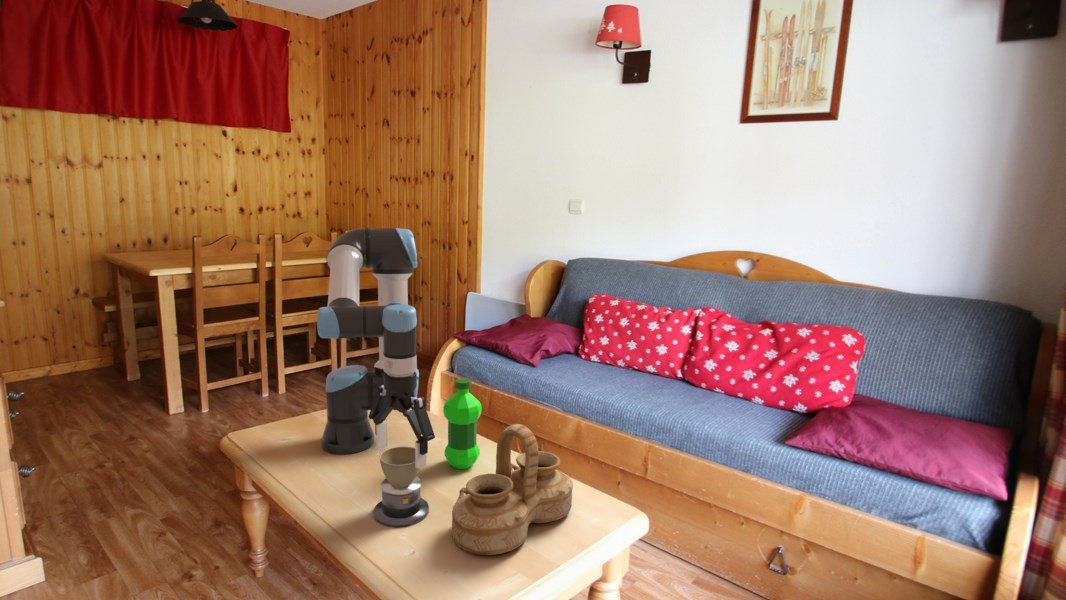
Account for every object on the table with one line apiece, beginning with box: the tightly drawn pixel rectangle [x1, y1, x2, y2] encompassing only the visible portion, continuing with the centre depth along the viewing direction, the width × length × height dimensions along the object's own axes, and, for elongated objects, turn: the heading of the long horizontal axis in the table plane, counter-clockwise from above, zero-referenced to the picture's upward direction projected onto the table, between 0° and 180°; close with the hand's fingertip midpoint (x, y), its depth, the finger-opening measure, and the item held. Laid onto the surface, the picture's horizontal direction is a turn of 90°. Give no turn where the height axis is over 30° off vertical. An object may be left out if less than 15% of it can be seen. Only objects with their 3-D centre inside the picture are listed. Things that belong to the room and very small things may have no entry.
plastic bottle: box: [442, 377, 482, 470], centre depth 171 cm, size 10×10×25 cm
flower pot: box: [379, 445, 421, 488], centre depth 146 cm, size 10×10×7 cm
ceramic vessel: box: [451, 423, 574, 556], centre depth 144 cm, size 34×18×25 cm, turn 141°
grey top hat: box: [373, 475, 430, 528], centre depth 148 cm, size 13×13×8 cm
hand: (400, 457), depth 146 cm, fingers open, 13 cm apart
